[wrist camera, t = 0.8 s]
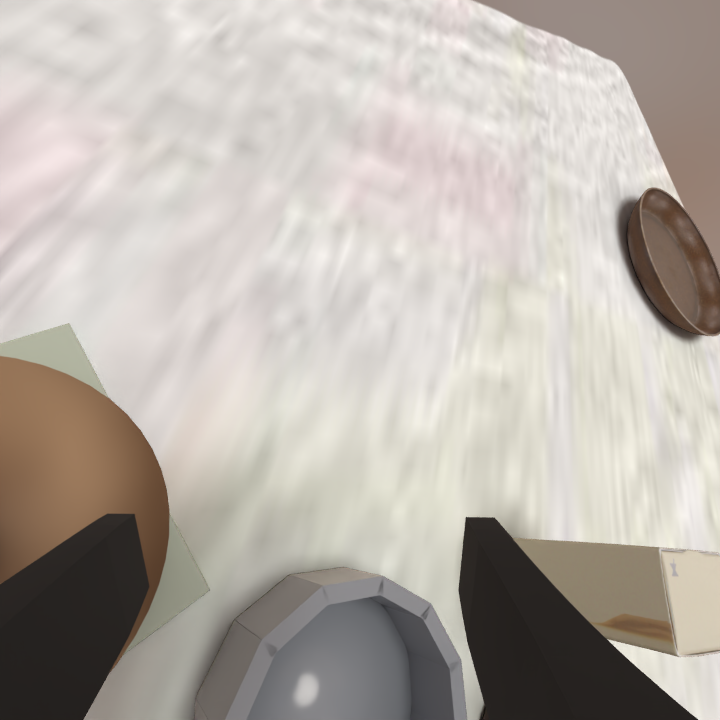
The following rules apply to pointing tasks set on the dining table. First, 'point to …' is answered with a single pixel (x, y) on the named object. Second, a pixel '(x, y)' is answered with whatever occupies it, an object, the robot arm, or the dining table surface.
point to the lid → (72, 471)
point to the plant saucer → (674, 263)
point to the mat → (180, 568)
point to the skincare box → (638, 592)
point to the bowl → (335, 655)
